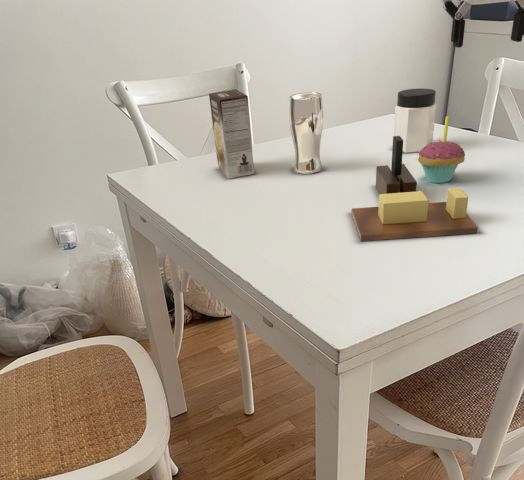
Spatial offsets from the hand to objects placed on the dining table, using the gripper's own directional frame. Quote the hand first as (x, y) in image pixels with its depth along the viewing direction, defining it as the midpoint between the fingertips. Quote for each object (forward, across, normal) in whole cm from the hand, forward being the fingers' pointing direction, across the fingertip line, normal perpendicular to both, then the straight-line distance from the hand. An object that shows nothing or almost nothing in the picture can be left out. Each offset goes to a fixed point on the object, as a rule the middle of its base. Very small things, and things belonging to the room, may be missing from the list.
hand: (486, 43), depth 91 cm
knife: (+23, +15, +5) cm, 28 cm away
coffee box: (+23, +46, -18) cm, 55 cm away
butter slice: (+22, +8, +19) cm, 30 cm away
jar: (+23, +5, -26) cm, 35 cm away
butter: (+22, +17, +19) cm, 33 cm away
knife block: (+23, +15, +5) cm, 28 cm away
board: (+23, +15, +19) cm, 33 cm away
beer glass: (+23, +30, -15) cm, 41 cm away
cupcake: (+23, +5, -2) cm, 24 cm away
